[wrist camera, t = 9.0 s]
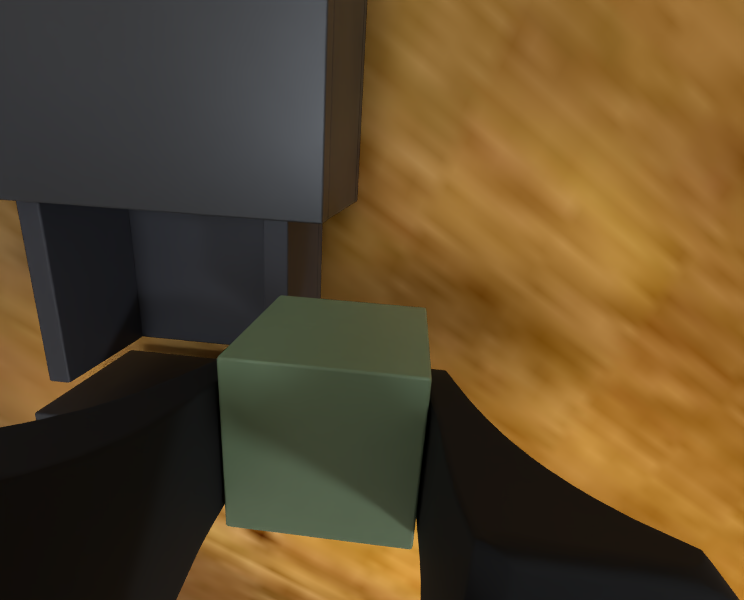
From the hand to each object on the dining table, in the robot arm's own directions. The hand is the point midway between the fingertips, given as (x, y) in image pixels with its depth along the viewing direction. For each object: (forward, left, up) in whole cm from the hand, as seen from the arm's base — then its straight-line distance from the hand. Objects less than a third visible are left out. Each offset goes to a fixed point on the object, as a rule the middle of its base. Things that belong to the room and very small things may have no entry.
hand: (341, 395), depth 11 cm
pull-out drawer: (-6, +4, -9) cm, 11 cm away
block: (0, 0, -1) cm, 1 cm away
